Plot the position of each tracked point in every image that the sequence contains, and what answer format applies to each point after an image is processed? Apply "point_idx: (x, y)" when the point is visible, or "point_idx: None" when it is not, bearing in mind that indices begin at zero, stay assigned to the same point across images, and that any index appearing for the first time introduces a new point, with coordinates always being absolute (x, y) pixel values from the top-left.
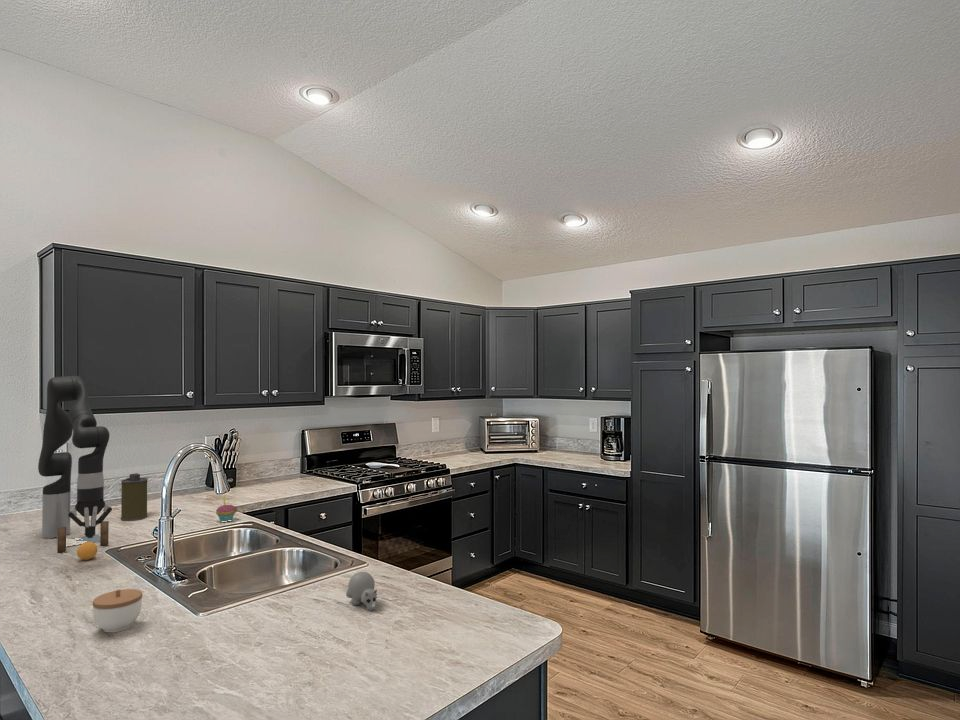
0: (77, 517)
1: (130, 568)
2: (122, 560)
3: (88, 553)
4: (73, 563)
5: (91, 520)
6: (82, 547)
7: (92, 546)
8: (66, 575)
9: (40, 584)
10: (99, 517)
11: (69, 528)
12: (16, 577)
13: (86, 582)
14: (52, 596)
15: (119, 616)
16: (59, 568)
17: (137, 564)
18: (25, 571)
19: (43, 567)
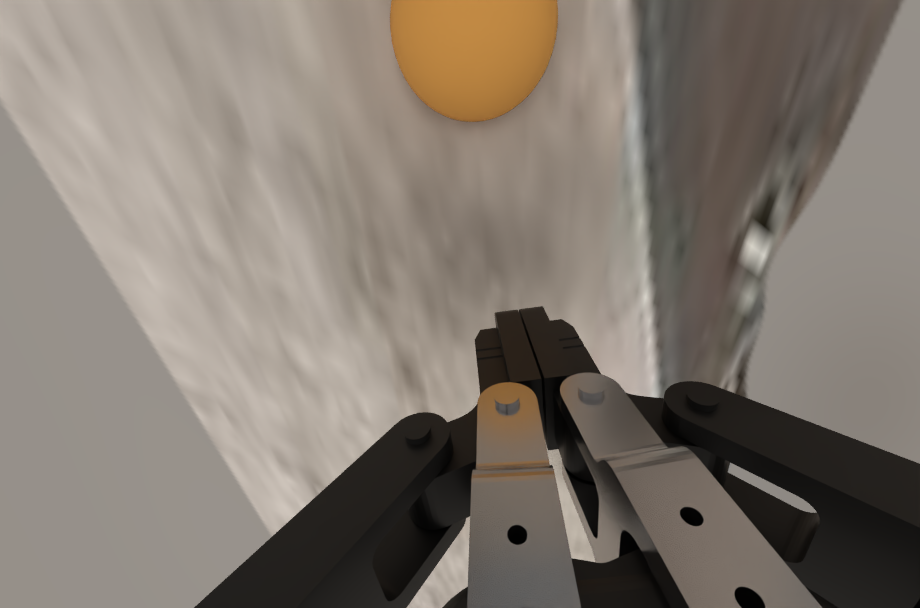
0: (348, 561)
1: (661, 387)
2: (666, 218)
3: (484, 120)
4: (389, 112)
5: (589, 452)
6: (437, 88)
7: (520, 87)
8: (395, 355)
9: (315, 425)
10: (748, 457)
11: None
12: (140, 264)
13: None
14: None
15: None
16: (326, 198)
17: (706, 341)
18: (125, 151)
19: (208, 107)
